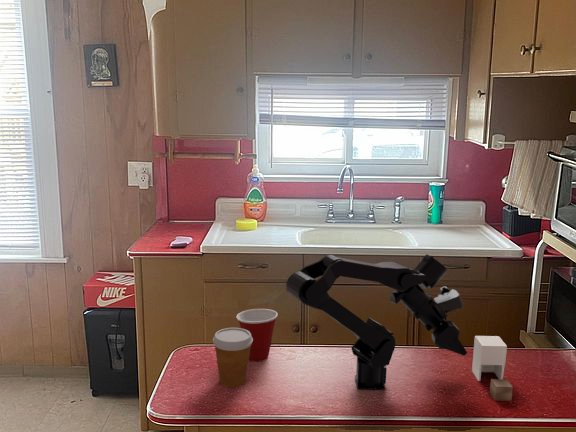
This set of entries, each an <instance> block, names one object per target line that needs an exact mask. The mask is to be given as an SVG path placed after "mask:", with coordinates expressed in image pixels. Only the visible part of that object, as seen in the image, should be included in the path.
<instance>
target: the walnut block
mask: <svg viewBox="0 0 576 432" xmlns="http://www.w3.org/2000/svg"><path fill="white" fill-rule="evenodd" d="M489 393H490V395H491V397H492V398H493V400H494V401H509V402H511V401H512V398H513V384H511V382H510V381H509V380H508V378H507V379H506V378H505V379H504V378H503V379H499V378H490V386H489Z"/></svg>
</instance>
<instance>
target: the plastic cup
mask: <svg viewBox="0 0 576 432" xmlns="http://www.w3.org/2000/svg"><path fill="white" fill-rule="evenodd" d="M235 318H236V319H237V321H238V323H239V328H241V329H245V330H248V331H249V332H250V333H251V337H252V338H253V342H252V344H251V347H250V354H249V361H252V362H263V361H266V360H267V359H269V354H270V349H271V347H272V346H271V345H272V341H273V336H274V335H273V334H274V328H275V325H276V324H275V323H276V320H277V318H278V312H277V311H276V310H273V309H270V308H269V309H267V308H253V309H246V310H243V311H241V312H239V313H237V315H236V316H235Z"/></svg>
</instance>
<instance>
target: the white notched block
mask: <svg viewBox="0 0 576 432" xmlns="http://www.w3.org/2000/svg"><path fill="white" fill-rule="evenodd" d="M473 343H474V344H473V354H472V364H471V365H472V366H471V372H472V374H473V375H474V376H475V378H476V380H477V381H478V382H481V380H482V377H481V376H482V373H494V374H495V376H496V377H497V379H504V373H505V371H504V370H505V366H506V363H507V362H506V361H507V359H506V358H507V350H508V346H507V344H506V343H505V342H504V341H503V339H502V338H501V337H500V336H499V335H498V336H497V335H493V336H492V335H475V336H474V342H473Z"/></svg>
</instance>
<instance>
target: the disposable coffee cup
mask: <svg viewBox="0 0 576 432" xmlns="http://www.w3.org/2000/svg"><path fill="white" fill-rule="evenodd" d="M252 342H253V338H252V337H251V333H250V332H249V331H248V330H245V329H241V327H226V328H222V329H220V330H218V331H216V332H215V334H214V336H213V338H212V343H213V345H214V347H215V348H214V349H215V355H216V356H215V357H216V364H217V370H218V378H219V384H221V385H222V386H224V387H226V388H237V387H242V386H243V385H244V384H245V383H246V381H247V375H248V368H249V361H250V360H249V354H250V347H251V344H252Z"/></svg>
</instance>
